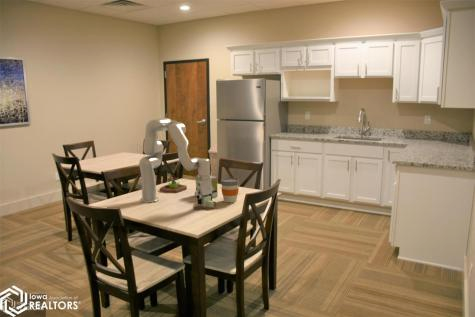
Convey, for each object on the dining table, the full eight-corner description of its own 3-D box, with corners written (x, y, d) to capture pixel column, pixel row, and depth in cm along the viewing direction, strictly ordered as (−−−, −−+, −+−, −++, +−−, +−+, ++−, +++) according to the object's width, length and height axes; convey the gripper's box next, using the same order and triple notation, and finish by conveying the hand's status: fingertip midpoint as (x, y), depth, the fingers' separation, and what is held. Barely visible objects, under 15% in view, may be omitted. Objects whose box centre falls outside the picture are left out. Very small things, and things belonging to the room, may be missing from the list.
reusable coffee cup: (237, 203, 257) (236, 182, 254) (219, 203, 259) (218, 181, 257) (240, 199, 269) (240, 178, 266) (223, 198, 271) (223, 177, 269)
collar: (198, 204, 251) (198, 196, 250) (205, 203, 255) (205, 194, 254) (209, 208, 244) (208, 199, 243) (215, 206, 248) (215, 197, 247)
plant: (155, 192, 291) (155, 178, 289) (167, 186, 310) (167, 173, 308) (179, 194, 285) (178, 179, 283) (190, 188, 303) (189, 174, 301)
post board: (195, 203, 258) (195, 196, 257) (215, 203, 259) (215, 195, 258) (193, 209, 244) (193, 201, 243) (215, 209, 245) (215, 201, 244)
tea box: (195, 194, 281) (195, 175, 279) (207, 192, 287) (206, 173, 285) (206, 199, 269) (205, 178, 267) (218, 196, 275) (217, 177, 273)
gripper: (198, 180, 239) (199, 206, 242) (217, 176, 252) (218, 200, 255) (190, 178, 244) (191, 204, 247) (209, 174, 257) (210, 198, 260)
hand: (204, 202), depth 251 cm, fingers open, 9 cm apart
